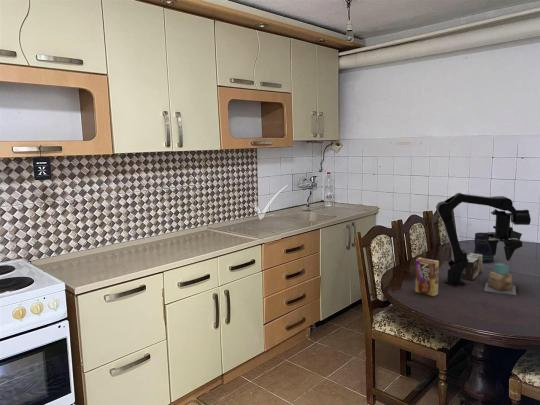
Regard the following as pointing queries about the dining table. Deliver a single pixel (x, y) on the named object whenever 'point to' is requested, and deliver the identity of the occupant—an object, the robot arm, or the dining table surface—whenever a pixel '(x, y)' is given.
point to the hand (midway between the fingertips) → (500, 257)
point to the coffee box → (473, 266)
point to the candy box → (427, 276)
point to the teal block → (501, 268)
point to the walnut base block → (500, 285)
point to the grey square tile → (510, 292)
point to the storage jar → (483, 248)
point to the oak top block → (500, 277)
